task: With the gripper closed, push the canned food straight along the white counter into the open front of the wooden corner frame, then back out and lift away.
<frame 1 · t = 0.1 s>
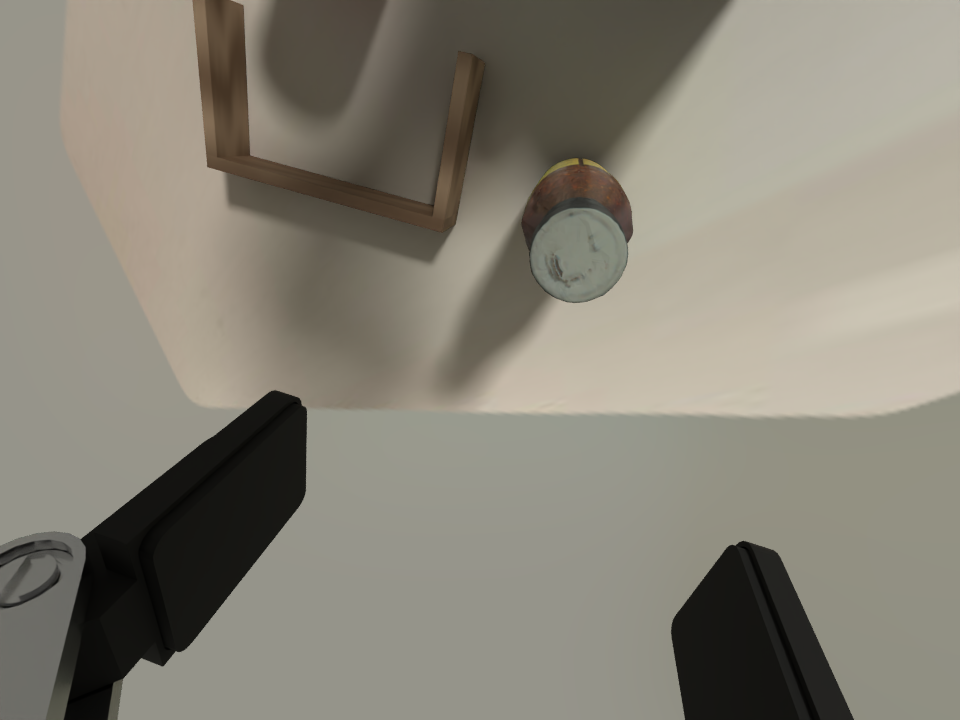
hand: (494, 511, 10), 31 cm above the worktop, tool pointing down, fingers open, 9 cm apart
wooden corner frame: (350, 112, 36), on the worktop
sauce bottle: (576, 198, 35), on the worktop
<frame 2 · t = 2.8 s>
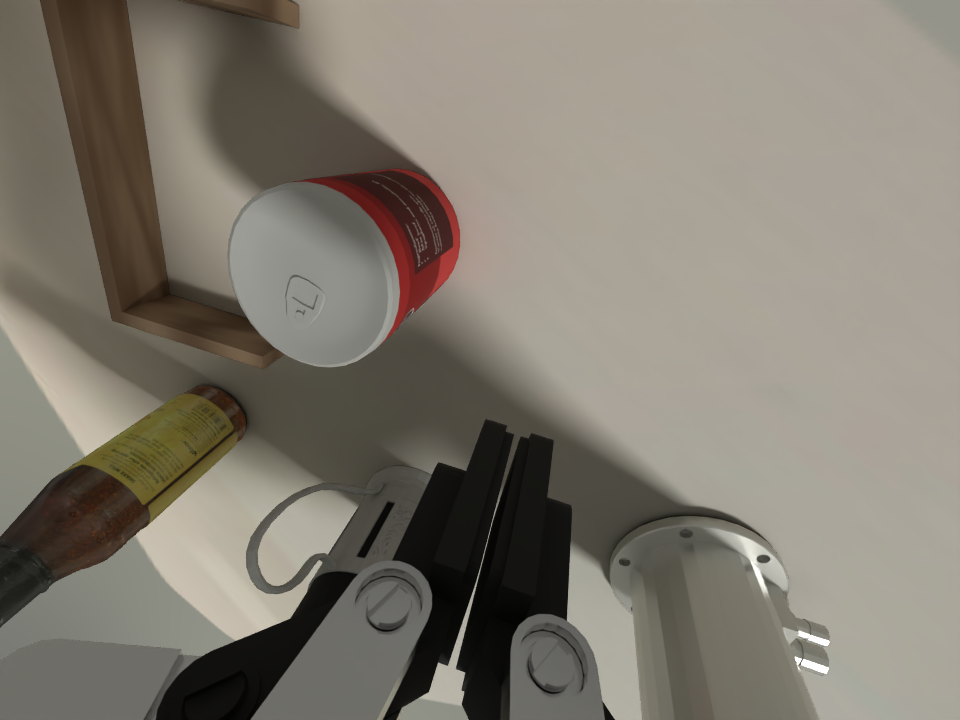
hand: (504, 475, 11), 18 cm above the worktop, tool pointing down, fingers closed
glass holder: (397, 480, 38), on the worktop
canned food: (406, 235, 28), on the worktop
wooden corner frame: (222, 185, 29), on the worktop
sauce bottle: (222, 412, 39), on the worktop
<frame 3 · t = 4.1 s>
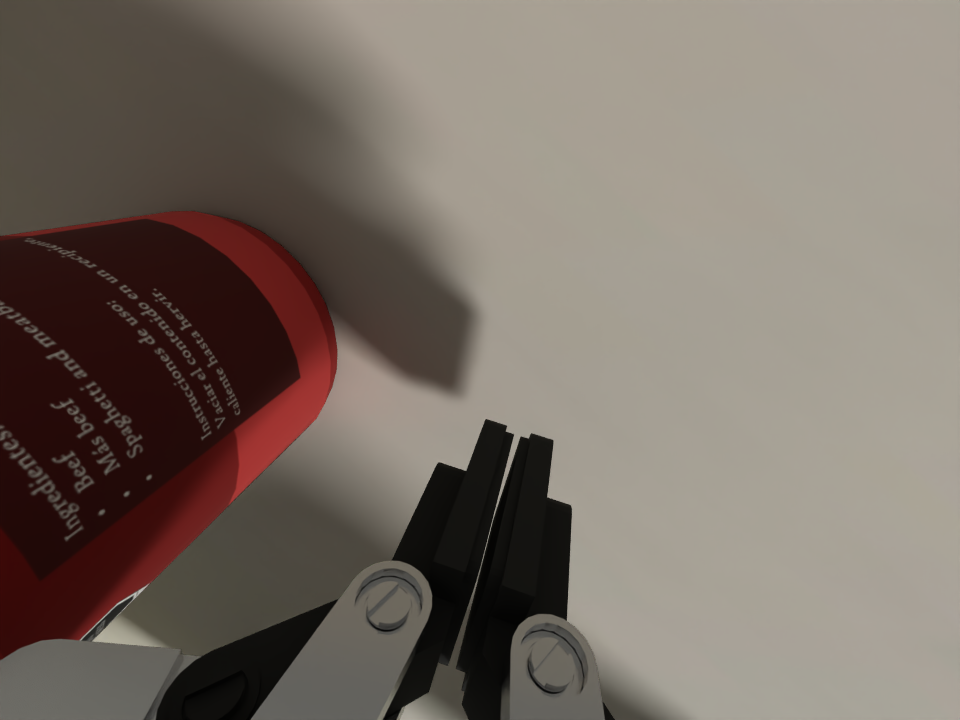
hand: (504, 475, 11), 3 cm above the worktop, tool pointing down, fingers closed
canned food: (244, 329, 15), on the worktop
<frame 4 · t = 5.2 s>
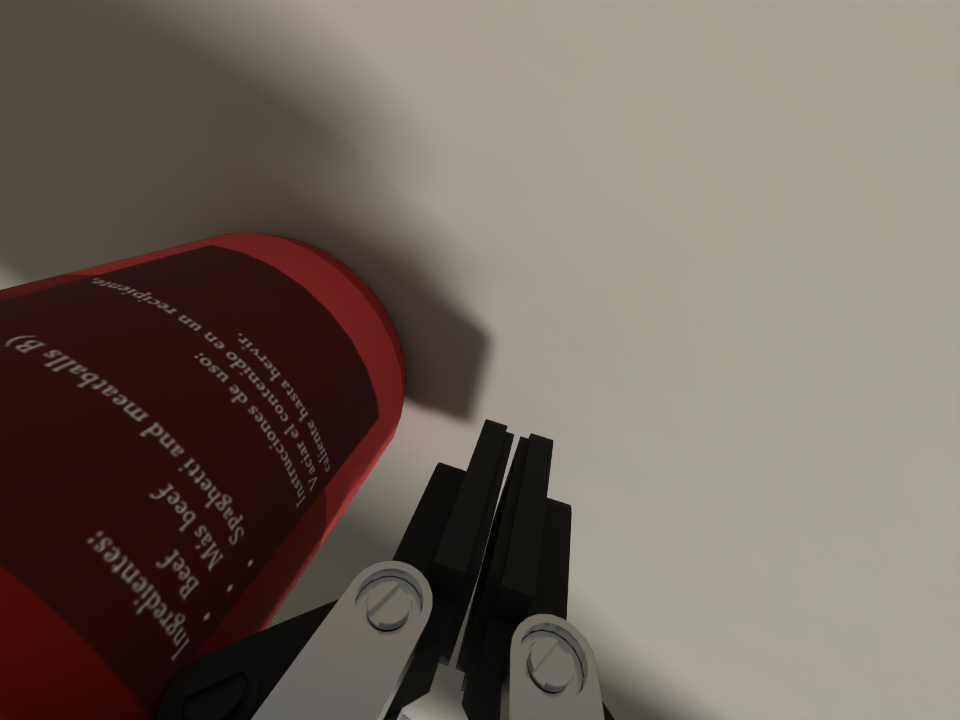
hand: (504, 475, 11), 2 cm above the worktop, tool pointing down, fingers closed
canned food: (300, 355, 13), on the worktop, touching gripper
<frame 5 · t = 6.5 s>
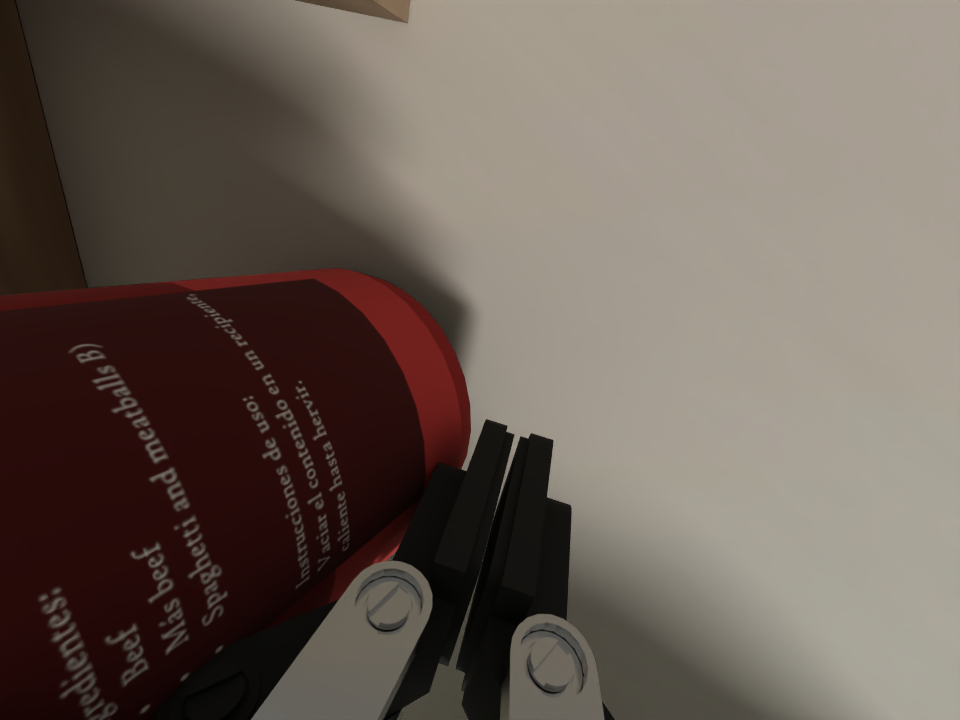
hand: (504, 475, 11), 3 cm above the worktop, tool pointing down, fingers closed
canned food: (373, 397, 13), point 1 cm above the worktop, touching gripper
wooden corner frame: (224, 335, 15), on the worktop
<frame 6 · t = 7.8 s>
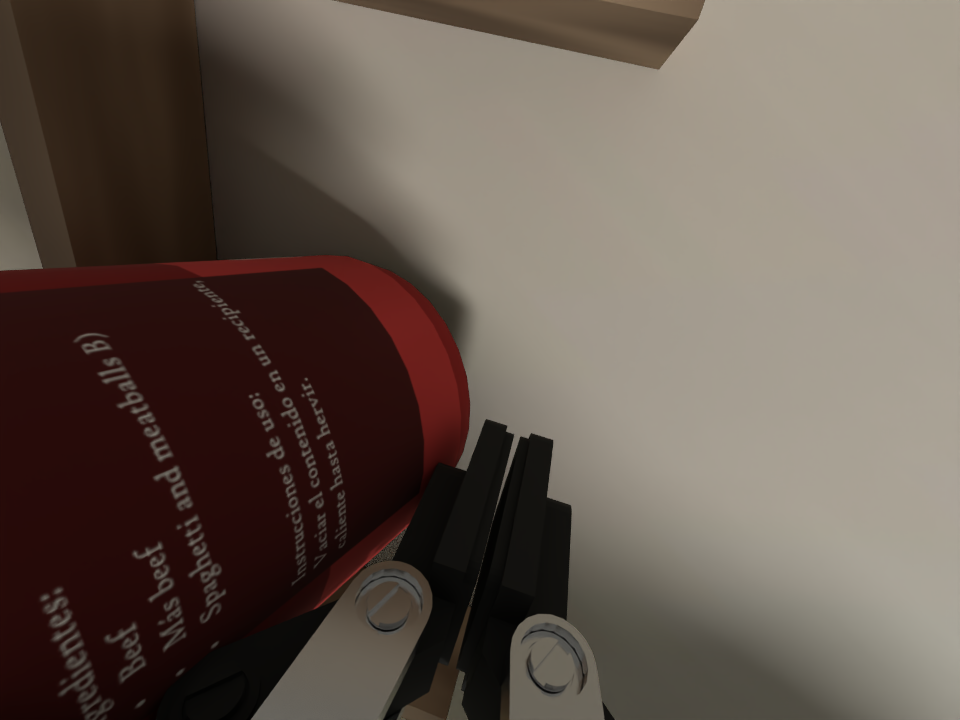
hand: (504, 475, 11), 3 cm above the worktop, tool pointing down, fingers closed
canned food: (371, 386, 13), point 1 cm above the worktop, touching gripper
wooden corner frame: (372, 377, 14), on the worktop
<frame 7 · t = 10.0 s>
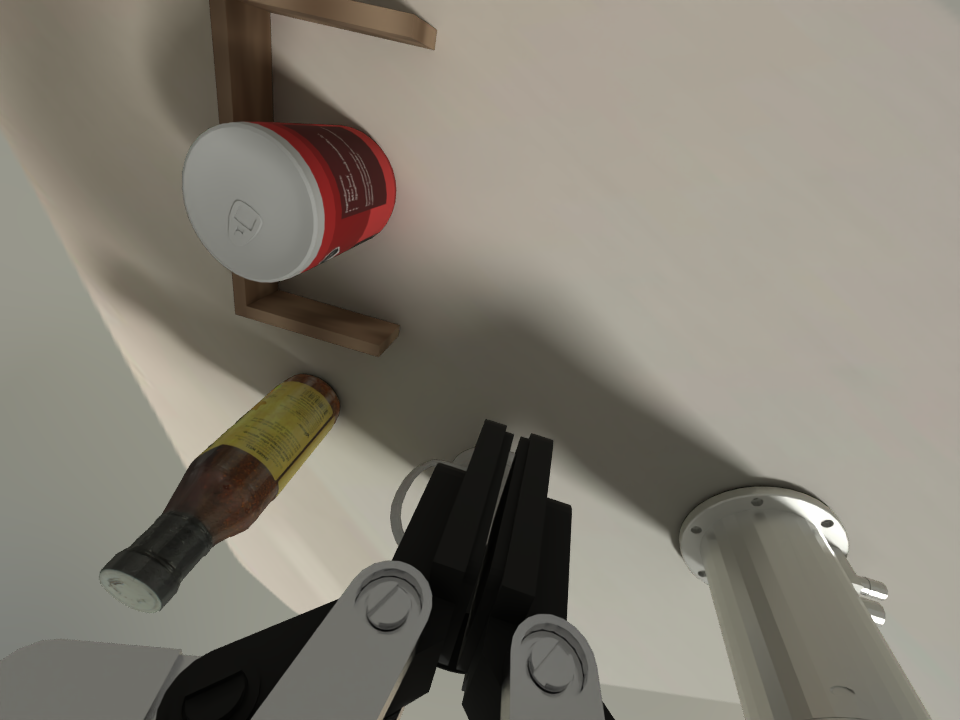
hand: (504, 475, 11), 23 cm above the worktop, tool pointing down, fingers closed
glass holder: (481, 459, 41), on the worktop
canned food: (350, 186, 32), on the worktop
wooden corner frame: (343, 189, 32), on the worktop
sauce bottle: (315, 399, 42), on the worktop
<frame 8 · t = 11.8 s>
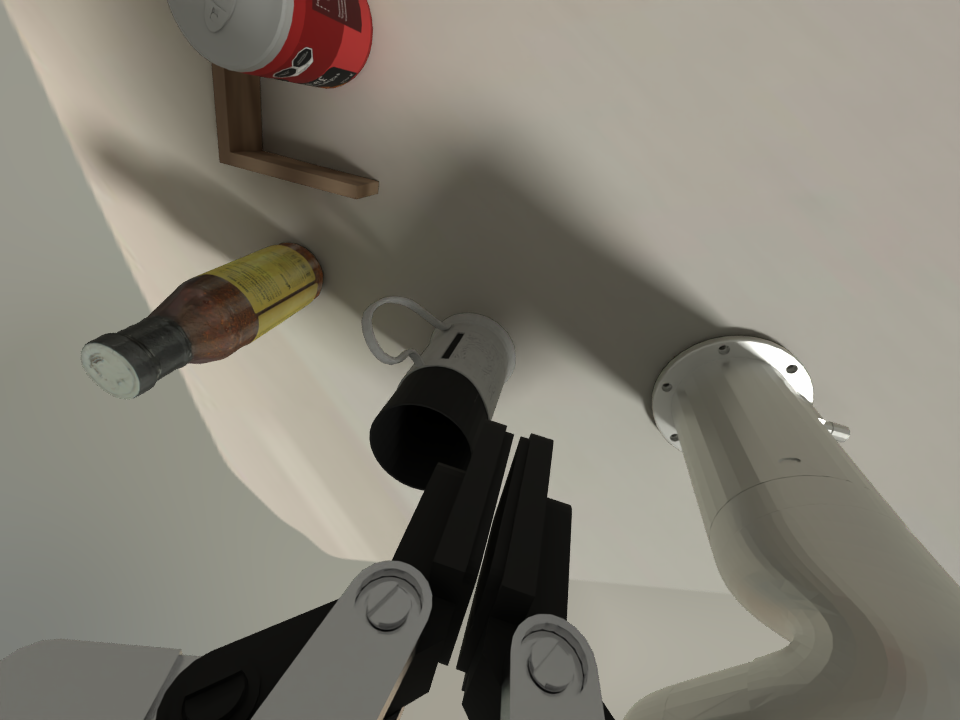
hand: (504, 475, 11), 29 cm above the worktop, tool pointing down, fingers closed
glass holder: (460, 329, 42), on the worktop
canned food: (330, 29, 33), on the worktop
wooden corner frame: (323, 32, 33), on the worktop
sauce bottle: (299, 273, 43), on the worktop
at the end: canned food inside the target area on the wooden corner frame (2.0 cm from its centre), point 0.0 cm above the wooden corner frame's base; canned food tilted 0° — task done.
